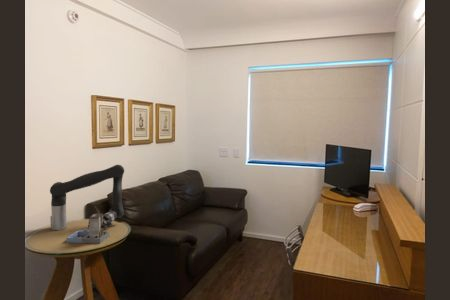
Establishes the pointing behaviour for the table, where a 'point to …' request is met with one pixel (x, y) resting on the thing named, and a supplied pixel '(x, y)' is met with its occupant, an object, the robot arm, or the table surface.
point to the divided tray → (86, 237)
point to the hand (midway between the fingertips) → (95, 226)
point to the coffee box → (96, 226)
